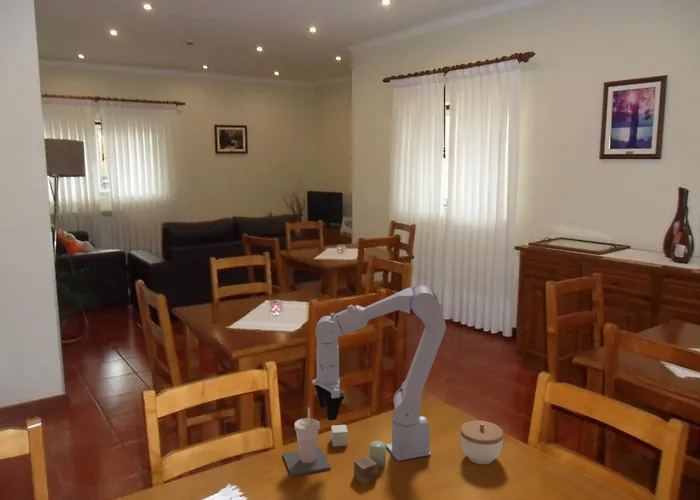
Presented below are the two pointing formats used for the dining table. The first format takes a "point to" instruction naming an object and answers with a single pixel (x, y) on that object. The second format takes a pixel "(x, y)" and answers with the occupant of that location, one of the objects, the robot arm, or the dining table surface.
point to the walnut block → (365, 470)
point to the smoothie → (307, 437)
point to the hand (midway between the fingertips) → (328, 412)
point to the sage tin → (378, 453)
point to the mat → (303, 468)
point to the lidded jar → (481, 441)
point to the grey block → (339, 435)
